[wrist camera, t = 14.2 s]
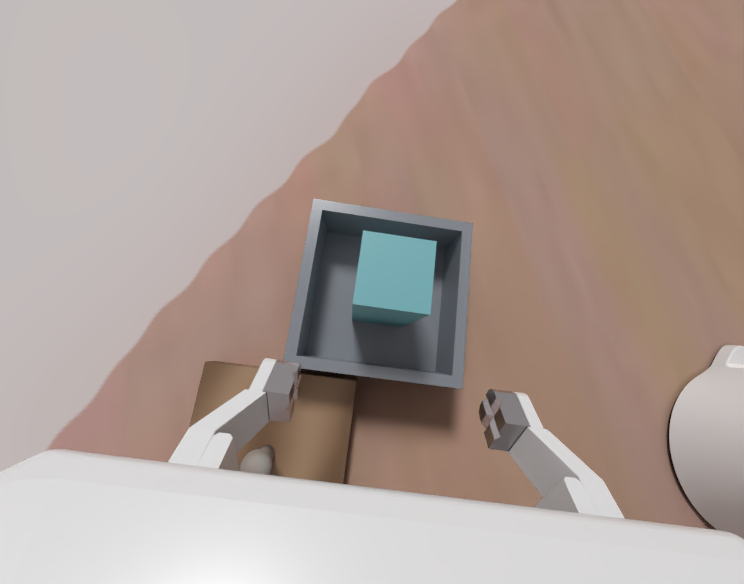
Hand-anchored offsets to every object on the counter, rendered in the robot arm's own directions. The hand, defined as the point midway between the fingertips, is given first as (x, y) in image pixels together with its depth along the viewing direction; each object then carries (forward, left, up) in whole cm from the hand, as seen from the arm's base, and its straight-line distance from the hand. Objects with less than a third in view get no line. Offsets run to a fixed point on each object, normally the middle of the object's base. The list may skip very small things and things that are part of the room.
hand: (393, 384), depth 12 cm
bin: (0, -6, -13) cm, 14 cm away
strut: (0, -6, -12) cm, 13 cm away
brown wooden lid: (+7, +7, -13) cm, 16 cm away
